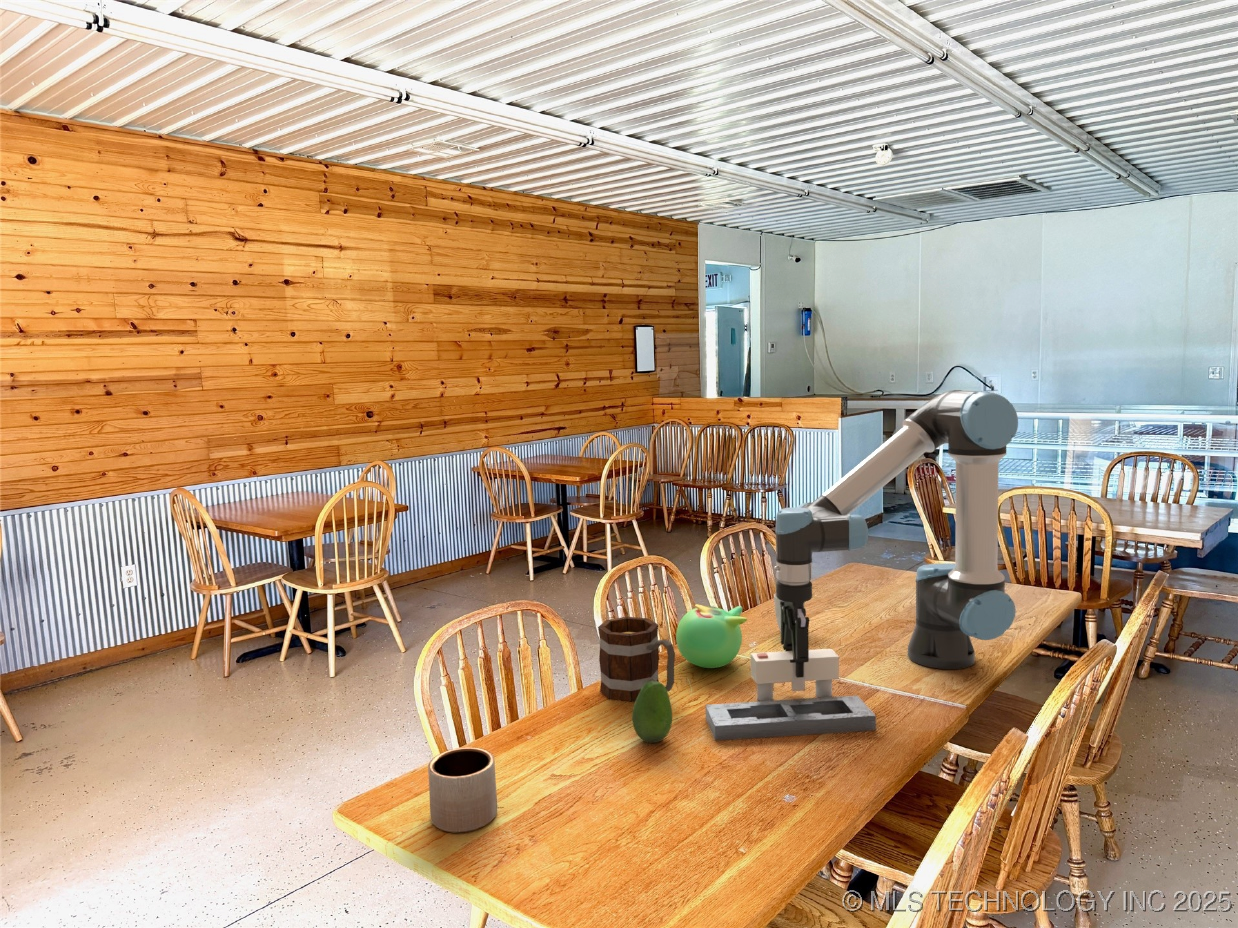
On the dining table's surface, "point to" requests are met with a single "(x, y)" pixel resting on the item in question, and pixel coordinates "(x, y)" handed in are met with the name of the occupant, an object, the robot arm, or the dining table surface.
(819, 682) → the cream block with pegs
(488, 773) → the planter
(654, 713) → the fruit
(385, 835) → the dining table surface
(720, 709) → the keyhole plate
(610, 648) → the mug
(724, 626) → the toy bird
